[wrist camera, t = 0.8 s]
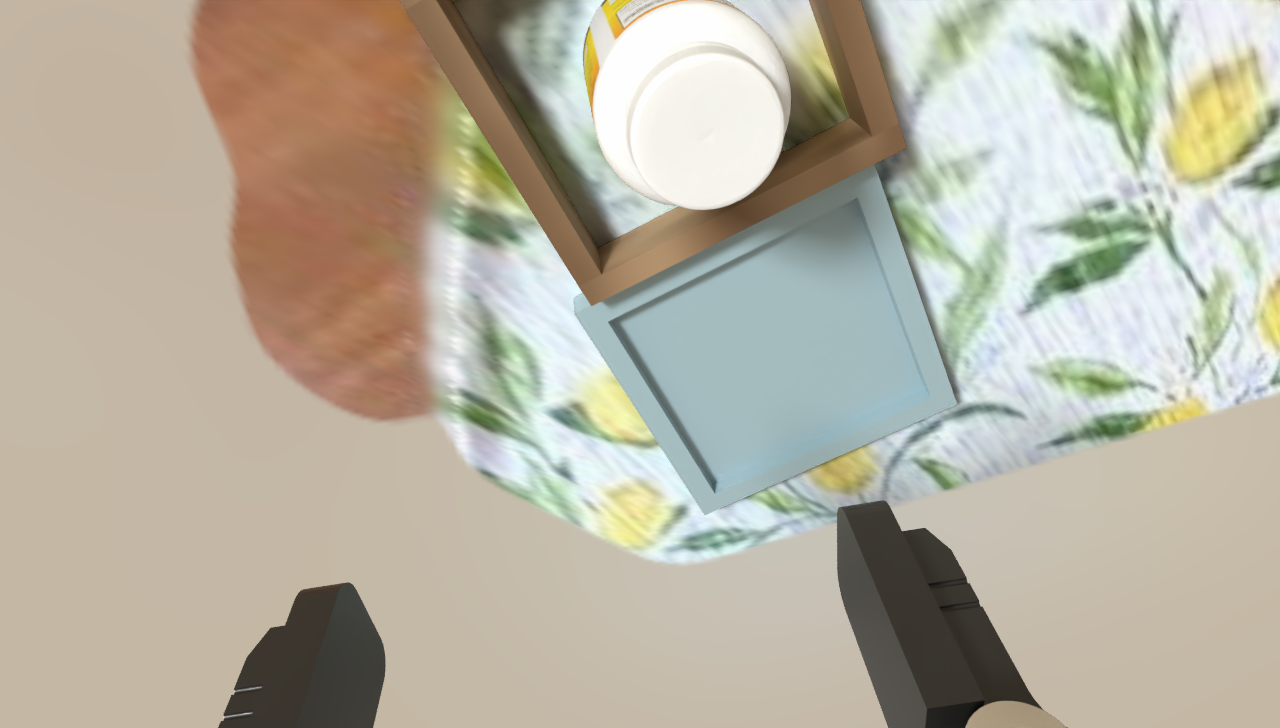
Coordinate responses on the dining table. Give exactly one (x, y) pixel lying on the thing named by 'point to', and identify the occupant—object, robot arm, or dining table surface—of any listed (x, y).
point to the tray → (777, 345)
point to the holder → (681, 228)
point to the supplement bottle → (686, 99)
